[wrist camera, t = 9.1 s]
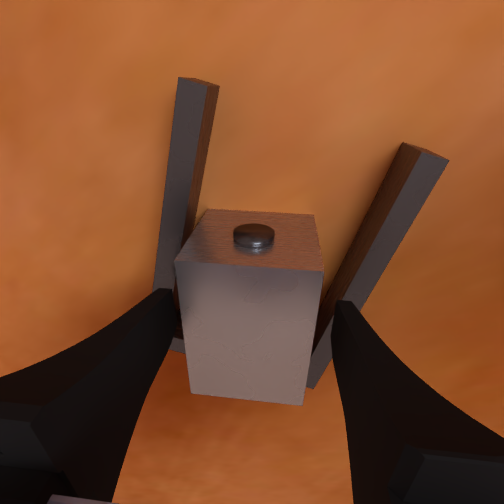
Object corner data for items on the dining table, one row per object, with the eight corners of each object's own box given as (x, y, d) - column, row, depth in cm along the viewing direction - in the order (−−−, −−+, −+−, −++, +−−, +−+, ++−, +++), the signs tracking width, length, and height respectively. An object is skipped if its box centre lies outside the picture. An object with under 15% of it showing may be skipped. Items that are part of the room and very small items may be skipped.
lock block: (314, 207, 14) (325, 263, 10) (299, 325, 17) (302, 406, 13) (208, 201, 14) (172, 252, 10) (214, 318, 18) (191, 393, 14)
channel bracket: (426, 149, 12) (449, 160, 10) (311, 360, 18) (313, 389, 17) (194, 78, 12) (178, 76, 10) (159, 318, 18) (146, 343, 16)
